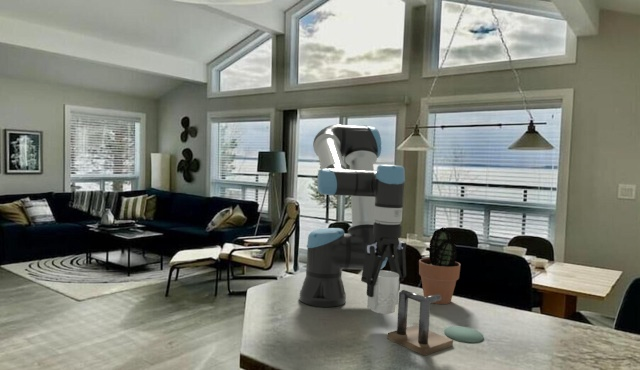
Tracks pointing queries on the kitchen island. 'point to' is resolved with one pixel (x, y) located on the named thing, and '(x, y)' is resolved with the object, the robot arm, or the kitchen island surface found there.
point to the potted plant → (440, 267)
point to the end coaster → (463, 334)
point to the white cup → (386, 291)
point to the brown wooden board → (411, 342)
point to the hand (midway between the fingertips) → (382, 305)
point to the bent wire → (422, 318)
